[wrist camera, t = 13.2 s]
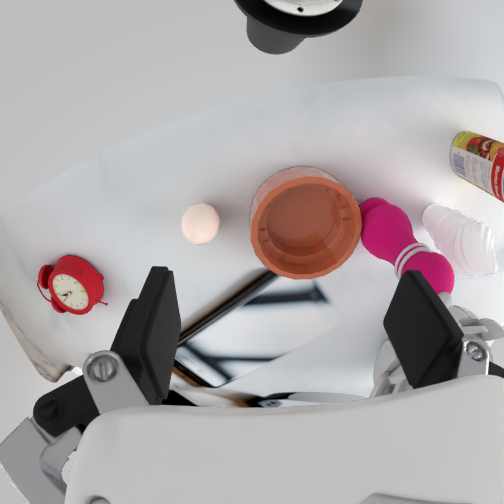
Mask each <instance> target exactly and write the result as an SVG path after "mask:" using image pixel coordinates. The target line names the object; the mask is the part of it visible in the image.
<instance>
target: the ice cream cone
mask: <svg viewBox="0 0 504 504" xmlns="http://www.w3.org/2000/svg"><path fill="white" fill-rule="evenodd" d="M422 223H423V225H424V227H425V228H426V230H427V231H428V233H429V234H430V236H431V238H432V239H433V241H434V244H435V246H436V248H438V249H439V250H440V251H441V252H442V254H443V255H444V257H445V258H446V259H447V260H448V261H449V263H450V264H451V266H452V268H453V271H454V275H455V276H457V277H458V278H462V279H471V278H475V277H478V276H484V275H489V274H493V273H495V272H496V271H497V269H498V262H497V257H496V255H495V248H494V245H493V240H494V236H493V235H491V228H490V227H486V226H485V223H484V222H481V223H478V222H477V220H474V219H473V218H469V217H467V216H465V215H463V214H462V212H460V211H458V210H452V209H450V208H447V207H444V206H441V205H438V204H431V205H429V206H427V207H426V209H425V210H424V212H423V214H422Z"/></svg>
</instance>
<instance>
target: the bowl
mask: <svg viewBox="0 0 504 504" xmlns="http://www.w3.org/2000/svg"><path fill="white" fill-rule="evenodd" d="M361 228H362V220H361V213H360V209H359V207H358V205H357V203H356V201H355V199H354V197H353V196H352V194H351V193H350V192H349V191H348V190H347V189H346V188H344V187H343V186H342V185H341V184H340V183H339V182H338V181H337V180H336V179H335V178H334V177H332V176H331V175H330V174H329V173H327V172H324V171H322V170H319V169H317V168H314V167H300V166H297V167H293V168H289V169H286V170H282V171H280V172H278V173H276V174H275V175H273V176H272V177H270V178H269V179H267V180H266V181H265V182H264V184H263V185H262V186H261V187H260V188H259V190H258V191H257V192H256V194H255V196H254V199H253V202H252V204H251V207H250V235H251V242H252V245H253V248H254V251H255V254H256V256H257V257H258V258H259V259H260V261H261V262H262V263H263V264H264V265H265V267H267V268H268V269H270V270H271V271H273V272H274V273H276V274H278V275H280V276H284V277H287V278H291V279H313V278H316V277H320V276H324V275H326V274H328V273H330V272H332V271H333V270H335V269H337V268H338V267H340V266H341V265H342V264H343V263H344V262H345V261H346V260H347V259H348V258H349V257H350V256H351V255H352V253H353V251H354V249H355V247H356V246H357V244H358V242H359V238H360V233H361Z"/></svg>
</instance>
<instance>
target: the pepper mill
mask: <svg viewBox="0 0 504 504" xmlns="http://www.w3.org/2000/svg"><path fill="white" fill-rule="evenodd" d="M359 209H360V213H361V220H362V228H361V233H360V236H361V241H362V243H363V245H364V246H365V248H366V249H367V250H368V251H369V252H370V253H371V254H373V255H374V256H376V257H377V258H380V259H383V260H386V261H388V262H390V263H392V264H393V265H394V266H395V274H396V276H397V278H398V279H399V281H400V278H401V276H402V274H403V273H405V271H406V270H420V271H421V273H422V274H423V275H424V277H425V278H426V279H427V281H428V282H429V283H430V285H431V286H432V287H433V289H434V290H435V292H436V293H437V294H438V296H439V297H440V299H441V300H442V301H443V303H444V304H445V306H446V307H447V309H448V308H449V307H450V306H451V303H452V297H451V295H450V294H451V292H452V289H453V286H454V271H453V268H452V266H451V264H450V263H449V261H448V260H447V259H446V258H445V257H444V256H443V255H441V254H438V253H436V252H433V251H432V250H431V249H430V248H429V247H428V246H427V245H426V244H423V243H418V241H417V240H416V239H415V238H414V236H413V231H412V226H411V223H410V221H409V219H408V217H407V215H406V214H405V213H404V212H403V211H402V210H401V209H400V208H399V207H397V206H395V205H391V204H389V203H388V202H387V201H385V200H384V199H381V198H371V199H368V200H366V201H365V202H363V203H362V204H361V205H360V206H359Z"/></svg>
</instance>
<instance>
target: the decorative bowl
mask: <svg viewBox="0 0 504 504" xmlns="http://www.w3.org/2000/svg"><path fill="white" fill-rule="evenodd" d="M448 310H449V312H450V313H451V315H452V316H453V318H454V319H455V321H456V322H457V324H458V325H459V327H460V328H461V330H462V332H463V333H464V336H463V338H462V339H461V340H462V341H463V342H464V341H465V340H466V339H468V338H474V339H477V340H479V341H480V342H481V343H483V344H484V345H485V347H486V348H487V350H488V353H489V361H490V362H493V356H492V352H491V348H490V347H489V345H488V344H487V343H486V342H485V341H489V340H494V339H498V338H502V337H504V329H503V327H502V326H501V325H500V324H499V323H497V322H496V321H494V320H491V319H479V318H478V317H477V316H476V315H474V314H473V313H472V312H470V311H469V310H467V309H465V308H462V307H459V306H455V305H453V306H450V307H449V308H448ZM409 390H413V388H412V386H410V385H409V383H408V381H407V378H406V376H405V374H404V371H403V369H402V366H401V364H400V362H399V359H398V357H397V355H396V352H395V350H394V348H393V346H392V343H391V341H390V339H389V340H386V341H385V342H384V344H383V345H382V347H381V349H380V351H379V353H378V356H377V359H376V363H375V367H374V388H373V390H372V392H371V395H370V398H373V397H379V396H384V395H390V394H395V393H400V392H405V391H409Z"/></svg>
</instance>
